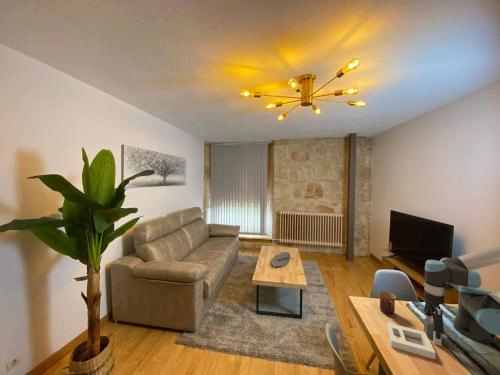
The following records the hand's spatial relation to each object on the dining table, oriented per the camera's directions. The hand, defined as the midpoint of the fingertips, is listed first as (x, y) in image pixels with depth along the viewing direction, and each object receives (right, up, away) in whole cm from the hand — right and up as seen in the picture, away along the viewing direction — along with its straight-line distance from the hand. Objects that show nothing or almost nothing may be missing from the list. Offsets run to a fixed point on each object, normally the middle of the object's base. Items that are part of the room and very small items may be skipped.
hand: (432, 336), depth 104 cm
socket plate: (-15, 0, -4) cm, 16 cm away
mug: (-10, 0, +18) cm, 21 cm away
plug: (0, 0, 0) cm, 0 cm away
